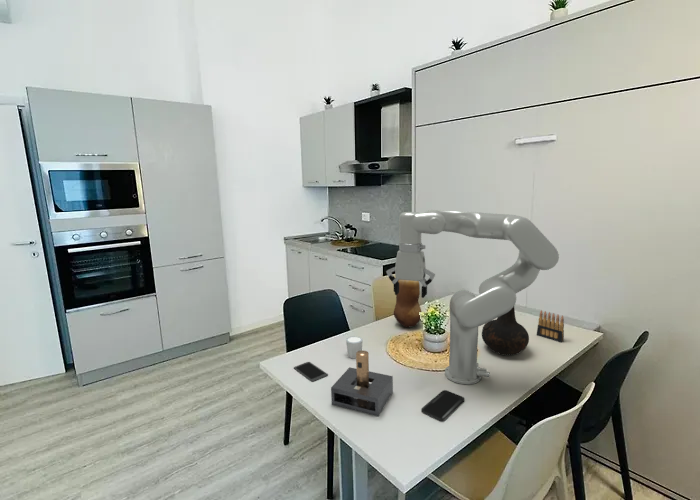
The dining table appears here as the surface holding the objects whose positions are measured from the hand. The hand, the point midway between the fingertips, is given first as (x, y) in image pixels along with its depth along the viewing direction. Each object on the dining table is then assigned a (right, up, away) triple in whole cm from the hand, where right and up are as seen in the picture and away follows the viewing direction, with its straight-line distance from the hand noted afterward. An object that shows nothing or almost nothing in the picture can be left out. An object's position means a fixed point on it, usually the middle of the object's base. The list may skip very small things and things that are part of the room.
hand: (410, 295), depth 129 cm
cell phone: (-36, -31, +9) cm, 48 cm away
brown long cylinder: (-17, -33, -9) cm, 38 cm away
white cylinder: (-19, -28, +21) cm, 40 cm away
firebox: (-17, -33, -9) cm, 38 cm away
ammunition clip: (+67, -23, +32) cm, 78 cm away
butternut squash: (+7, -22, +51) cm, 56 cm away
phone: (+8, -34, -14) cm, 37 cm away
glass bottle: (+43, -26, +22) cm, 55 cm away
